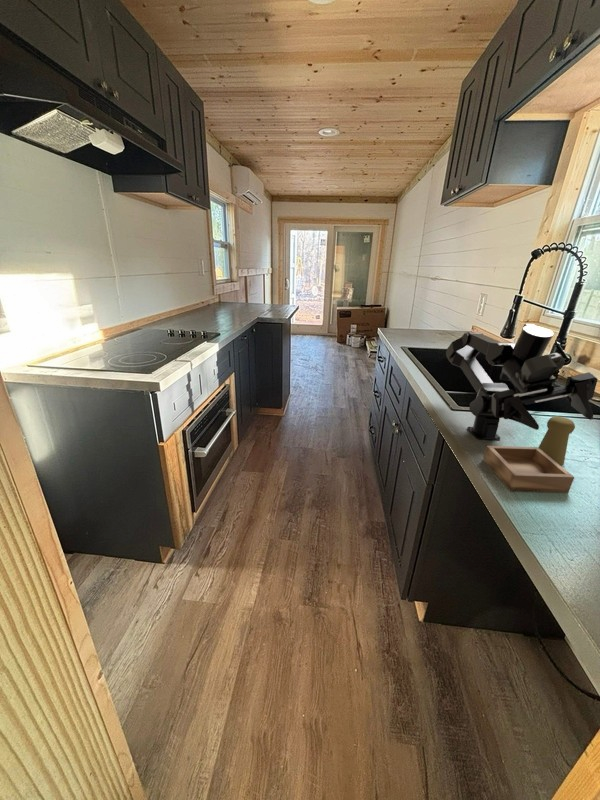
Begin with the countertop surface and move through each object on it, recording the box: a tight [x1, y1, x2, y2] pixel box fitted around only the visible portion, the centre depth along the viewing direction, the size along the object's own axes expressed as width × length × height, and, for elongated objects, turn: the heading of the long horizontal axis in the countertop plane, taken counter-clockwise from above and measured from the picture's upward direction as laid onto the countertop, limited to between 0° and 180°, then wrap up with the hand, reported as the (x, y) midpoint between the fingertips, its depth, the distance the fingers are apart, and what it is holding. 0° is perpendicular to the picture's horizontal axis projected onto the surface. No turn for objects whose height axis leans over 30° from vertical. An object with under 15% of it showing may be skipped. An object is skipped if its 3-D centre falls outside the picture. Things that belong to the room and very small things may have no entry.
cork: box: [537, 416, 576, 466], centre depth 79 cm, size 6×6×11 cm
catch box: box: [482, 445, 575, 494], centre depth 74 cm, size 12×12×4 cm
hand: (564, 423), depth 63 cm, fingers open, 9 cm apart
